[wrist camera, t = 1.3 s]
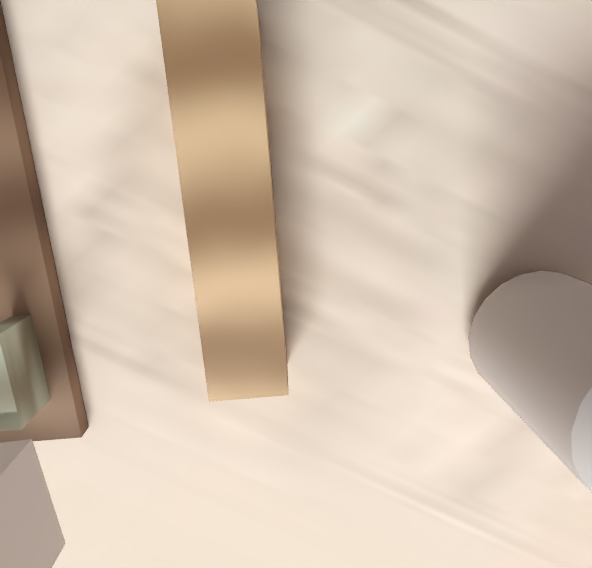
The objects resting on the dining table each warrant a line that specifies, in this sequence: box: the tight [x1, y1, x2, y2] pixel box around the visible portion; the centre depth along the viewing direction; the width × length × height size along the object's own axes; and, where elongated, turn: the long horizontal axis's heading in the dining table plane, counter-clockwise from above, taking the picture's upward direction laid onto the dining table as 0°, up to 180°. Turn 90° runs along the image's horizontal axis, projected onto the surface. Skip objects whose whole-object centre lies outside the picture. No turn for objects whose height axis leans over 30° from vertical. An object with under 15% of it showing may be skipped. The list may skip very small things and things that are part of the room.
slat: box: [156, 0, 288, 402], centre depth 23 cm, size 18×4×4 cm, turn 4°
